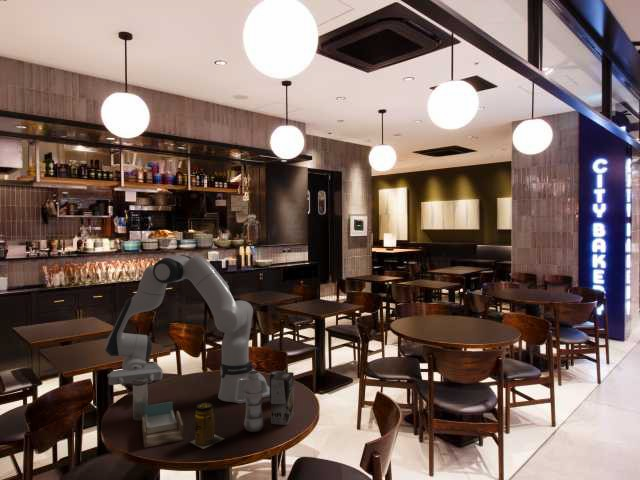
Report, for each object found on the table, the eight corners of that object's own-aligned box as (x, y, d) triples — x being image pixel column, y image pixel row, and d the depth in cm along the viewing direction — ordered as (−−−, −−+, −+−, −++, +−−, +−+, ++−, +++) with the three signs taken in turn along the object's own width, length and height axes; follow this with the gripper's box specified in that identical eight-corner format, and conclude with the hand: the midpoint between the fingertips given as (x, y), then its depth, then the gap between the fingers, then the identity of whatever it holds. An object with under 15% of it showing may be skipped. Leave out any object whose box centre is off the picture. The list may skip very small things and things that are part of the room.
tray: (172, 416, 161) (172, 401, 161) (176, 430, 150) (176, 414, 150) (144, 420, 157) (144, 405, 157) (146, 435, 146) (146, 419, 146)
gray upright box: (283, 406, 171) (283, 375, 171) (266, 404, 173) (266, 374, 173) (289, 399, 178) (289, 370, 177) (273, 398, 180) (273, 369, 179)
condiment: (189, 442, 142) (189, 405, 142) (211, 433, 148) (211, 398, 148) (202, 449, 137) (202, 411, 137) (224, 439, 144) (224, 403, 143)
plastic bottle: (255, 436, 146) (254, 376, 145) (240, 431, 149) (239, 373, 149) (267, 428, 151) (267, 371, 151) (252, 424, 155) (252, 368, 155)
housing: (178, 424, 155) (178, 410, 155) (183, 440, 143) (183, 424, 143) (142, 431, 150) (142, 416, 150) (144, 447, 138) (144, 432, 138)
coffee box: (287, 425, 154) (287, 380, 154) (270, 424, 155) (270, 379, 155) (294, 414, 163) (294, 372, 163) (277, 413, 164) (277, 371, 164)
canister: (147, 413, 164) (147, 376, 164) (148, 418, 160) (148, 381, 160) (132, 416, 162) (132, 378, 162) (133, 421, 158) (132, 383, 157)
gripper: (107, 366, 179) (108, 377, 167) (160, 361, 188) (164, 371, 176) (107, 381, 179) (107, 393, 167) (159, 375, 188) (163, 386, 176)
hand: (137, 382), depth 171 cm, fingers open, 8 cm apart
